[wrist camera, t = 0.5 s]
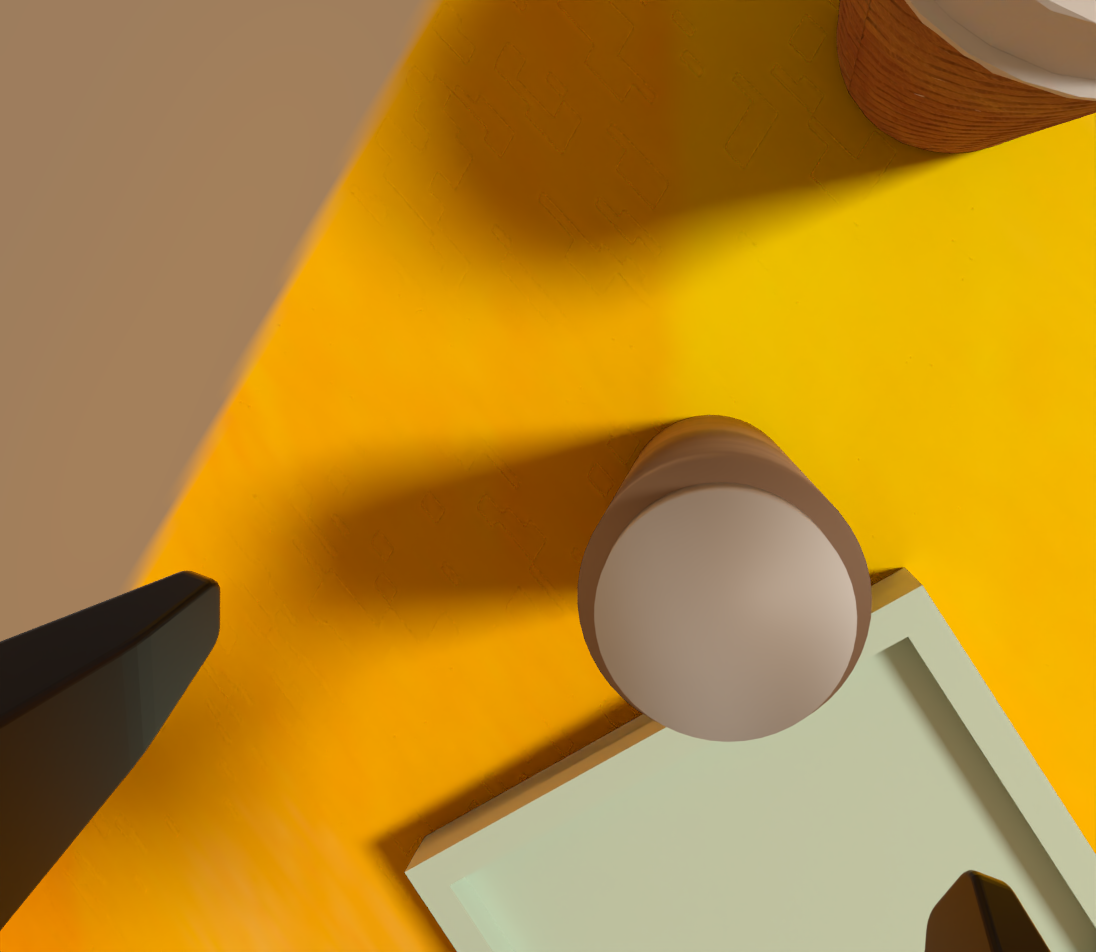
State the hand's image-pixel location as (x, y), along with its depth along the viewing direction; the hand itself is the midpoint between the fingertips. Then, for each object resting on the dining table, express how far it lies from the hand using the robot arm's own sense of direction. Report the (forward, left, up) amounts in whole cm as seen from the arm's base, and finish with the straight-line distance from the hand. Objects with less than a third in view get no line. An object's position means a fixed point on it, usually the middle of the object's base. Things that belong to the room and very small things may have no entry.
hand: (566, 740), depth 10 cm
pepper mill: (+2, -1, -16) cm, 16 cm away
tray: (-3, -12, -16) cm, 20 cm away
